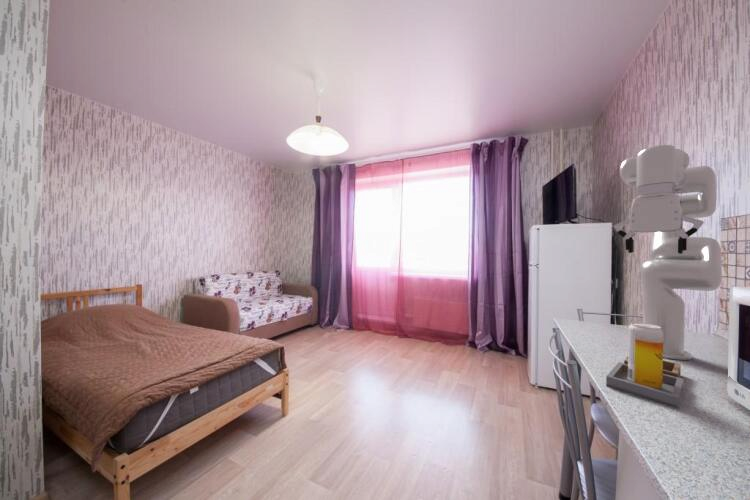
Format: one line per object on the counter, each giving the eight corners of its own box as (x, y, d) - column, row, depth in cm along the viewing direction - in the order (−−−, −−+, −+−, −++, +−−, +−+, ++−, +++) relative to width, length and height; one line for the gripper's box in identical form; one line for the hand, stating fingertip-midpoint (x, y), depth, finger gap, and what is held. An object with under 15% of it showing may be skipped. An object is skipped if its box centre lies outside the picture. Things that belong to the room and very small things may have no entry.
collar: (630, 362, 81) (631, 352, 81) (680, 375, 74) (680, 364, 74) (624, 371, 75) (624, 360, 75) (677, 385, 67) (677, 374, 67)
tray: (618, 371, 76) (618, 362, 75) (683, 388, 66) (683, 378, 66) (606, 386, 67) (606, 376, 67) (678, 409, 57) (678, 397, 57)
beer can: (669, 392, 63) (670, 329, 63) (639, 389, 64) (640, 327, 64) (649, 380, 69) (650, 322, 69) (621, 377, 70) (622, 321, 70)
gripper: (704, 188, 70) (703, 253, 70) (617, 197, 84) (616, 252, 84) (703, 184, 65) (702, 254, 66) (611, 195, 79) (610, 252, 79)
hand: (654, 252), depth 75 cm, fingers open, 9 cm apart
